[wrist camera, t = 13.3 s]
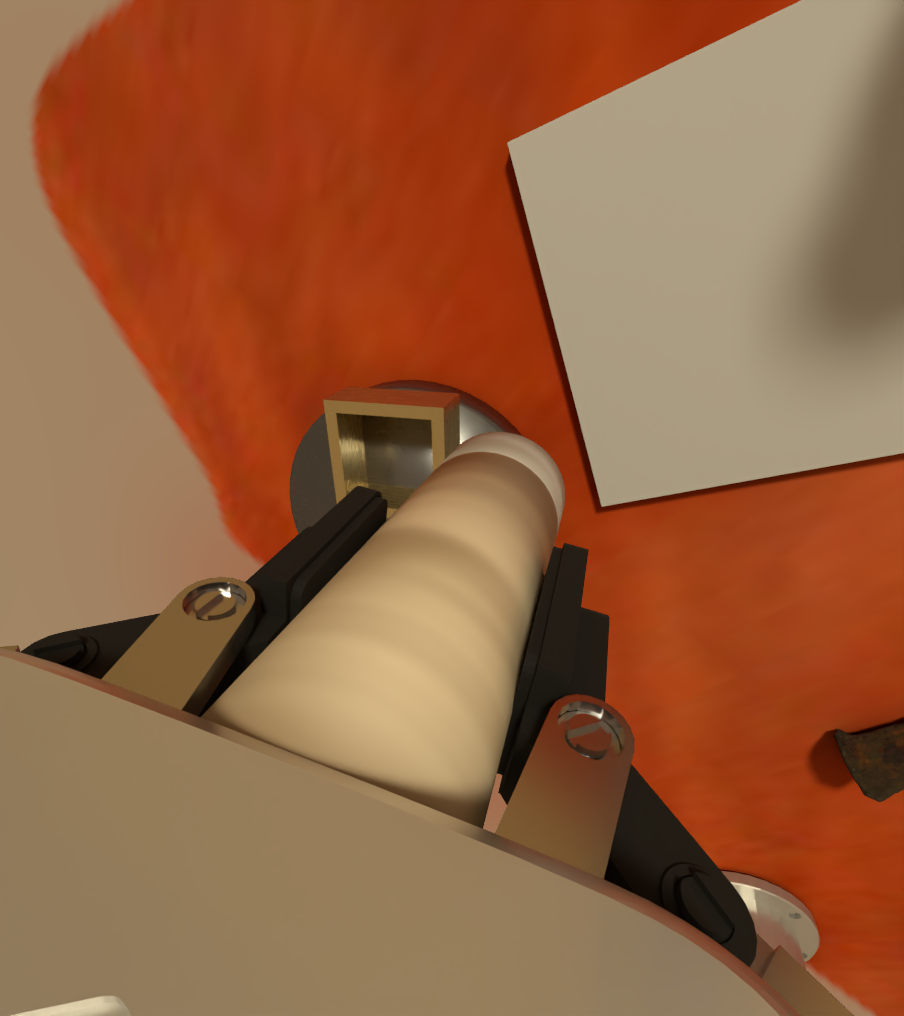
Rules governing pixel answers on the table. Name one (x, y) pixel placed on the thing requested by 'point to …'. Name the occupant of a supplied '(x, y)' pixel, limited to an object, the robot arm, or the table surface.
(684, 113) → the mat
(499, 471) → the beige rounded cylinder
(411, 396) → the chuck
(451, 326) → the table surface
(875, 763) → the hand tool
